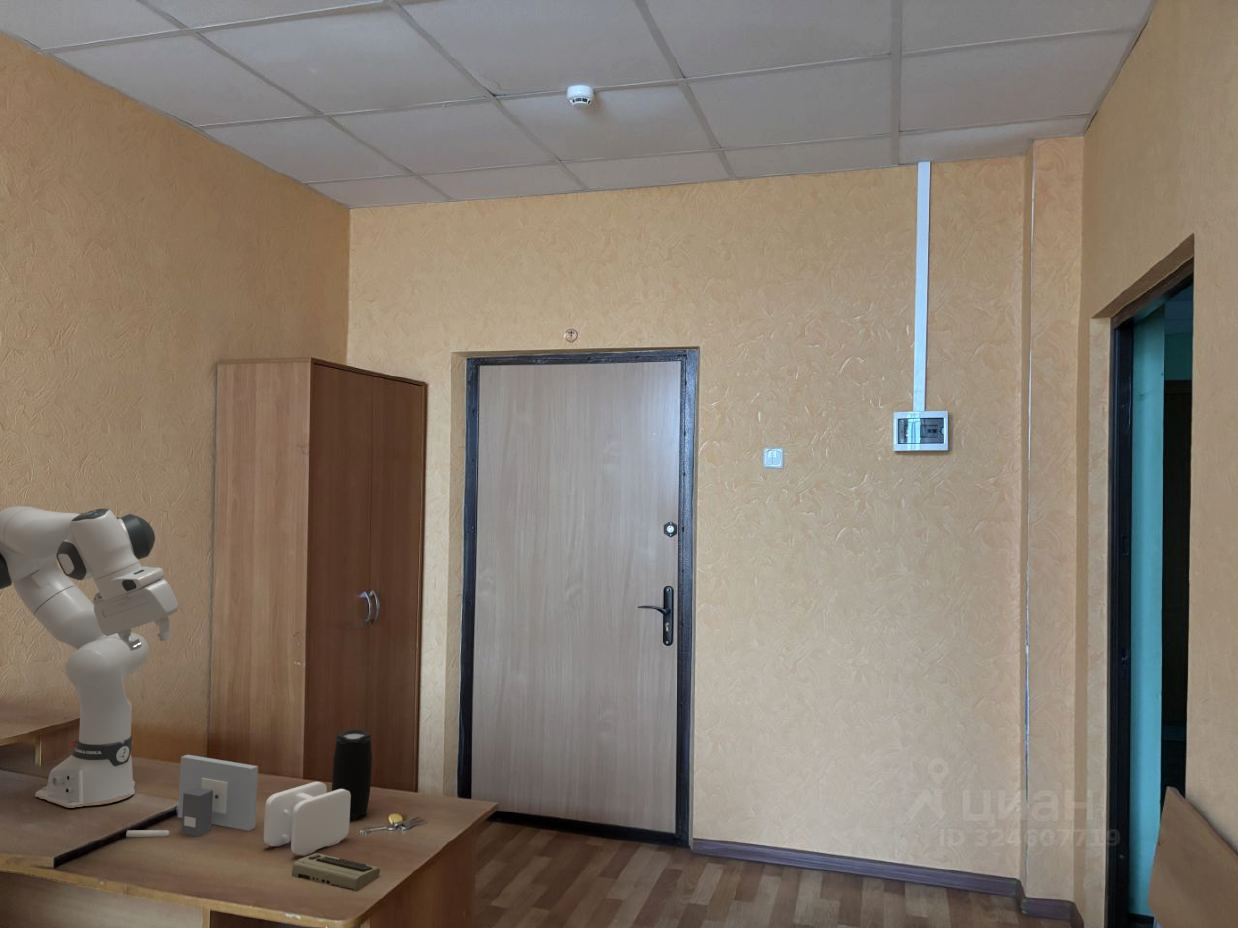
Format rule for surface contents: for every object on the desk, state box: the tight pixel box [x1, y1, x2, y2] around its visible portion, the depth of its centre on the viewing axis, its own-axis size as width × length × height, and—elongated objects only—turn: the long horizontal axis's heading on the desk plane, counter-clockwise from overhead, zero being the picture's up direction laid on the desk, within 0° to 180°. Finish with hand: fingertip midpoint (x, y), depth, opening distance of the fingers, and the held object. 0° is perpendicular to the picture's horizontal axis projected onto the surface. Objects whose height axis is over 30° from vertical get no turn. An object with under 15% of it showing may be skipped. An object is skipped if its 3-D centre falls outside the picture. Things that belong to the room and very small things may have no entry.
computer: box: [291, 852, 381, 892], centre depth 182 cm, size 16×8×3 cm, turn 70°
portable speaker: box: [331, 728, 373, 822], centre depth 214 cm, size 9×9×20 cm
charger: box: [180, 788, 213, 838], centre depth 201 cm, size 4×5×9 cm
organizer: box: [263, 781, 351, 857], centre depth 197 cm, size 15×11×12 cm
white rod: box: [125, 829, 170, 838], centre depth 197 cm, size 9×1×1 cm, turn 98°
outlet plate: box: [177, 754, 259, 832], centre depth 206 cm, size 20×2×14 cm, turn 73°
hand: (151, 644), depth 185 cm, fingers open, 8 cm apart
